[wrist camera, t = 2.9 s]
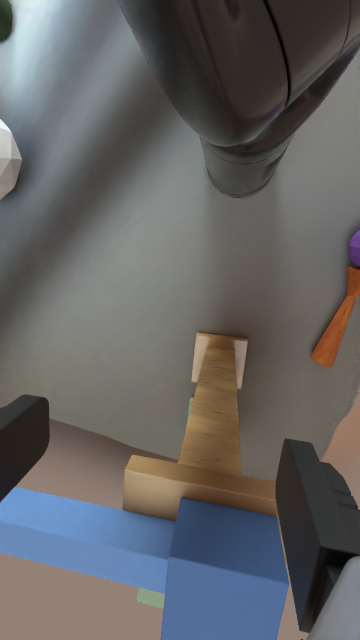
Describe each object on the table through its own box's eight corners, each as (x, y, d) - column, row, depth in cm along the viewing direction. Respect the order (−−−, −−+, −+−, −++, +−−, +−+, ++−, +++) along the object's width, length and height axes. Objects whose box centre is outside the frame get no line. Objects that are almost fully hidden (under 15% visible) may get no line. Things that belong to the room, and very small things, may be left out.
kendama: (301, 360, 43) (365, 216, 36) (301, 347, 48) (356, 219, 42) (345, 376, 41) (420, 229, 35) (339, 361, 47) (403, 231, 40)
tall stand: (186, 377, 51) (118, 573, 20) (191, 331, 49) (124, 470, 18) (246, 386, 49) (275, 612, 18) (254, 339, 47) (299, 504, 16)
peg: (-13, 530, 21) (-61, 586, 17) (-19, 455, 19) (-73, 500, 16) (261, 596, 18) (268, 677, 15) (277, 515, 17) (289, 584, 13)
